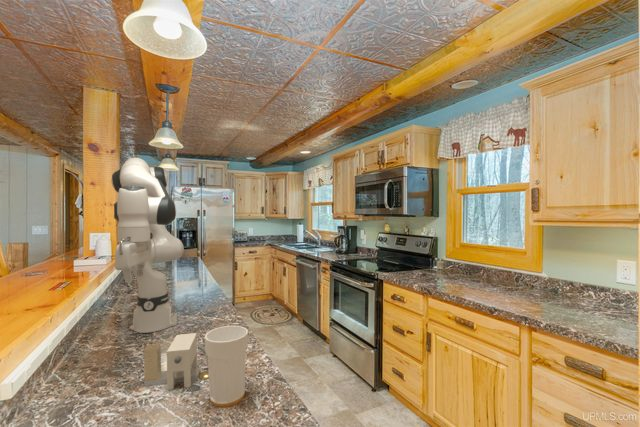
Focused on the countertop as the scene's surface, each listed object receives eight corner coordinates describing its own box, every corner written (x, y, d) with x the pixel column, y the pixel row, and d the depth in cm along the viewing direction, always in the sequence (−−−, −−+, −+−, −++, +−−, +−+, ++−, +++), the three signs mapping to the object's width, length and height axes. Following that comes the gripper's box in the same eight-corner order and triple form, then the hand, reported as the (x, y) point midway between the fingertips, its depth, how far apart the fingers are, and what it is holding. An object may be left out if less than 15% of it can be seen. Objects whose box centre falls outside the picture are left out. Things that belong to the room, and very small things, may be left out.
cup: (253, 384, 89) (252, 325, 88) (242, 410, 77) (241, 342, 77) (215, 384, 89) (214, 325, 89) (198, 409, 78) (197, 342, 77)
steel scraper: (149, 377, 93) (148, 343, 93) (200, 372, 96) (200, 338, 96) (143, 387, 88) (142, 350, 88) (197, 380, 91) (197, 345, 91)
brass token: (199, 374, 95) (199, 371, 95) (214, 371, 97) (214, 369, 97) (198, 381, 91) (198, 378, 91) (213, 378, 93) (213, 376, 93)
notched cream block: (177, 368, 98) (176, 334, 98) (197, 366, 99) (196, 333, 99) (166, 392, 85) (165, 353, 85) (189, 389, 87) (188, 350, 87)
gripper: (132, 238, 88) (133, 286, 88) (154, 233, 108) (155, 272, 108) (107, 239, 87) (108, 287, 87) (135, 234, 107) (135, 273, 107)
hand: (134, 279), depth 98 cm, fingers open, 8 cm apart
